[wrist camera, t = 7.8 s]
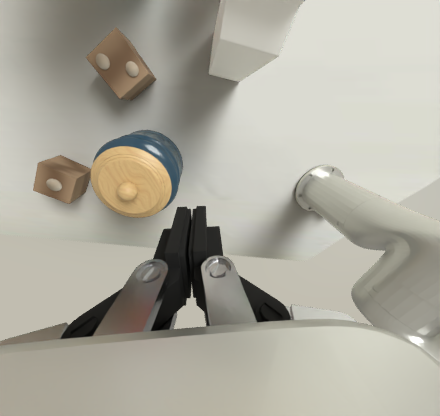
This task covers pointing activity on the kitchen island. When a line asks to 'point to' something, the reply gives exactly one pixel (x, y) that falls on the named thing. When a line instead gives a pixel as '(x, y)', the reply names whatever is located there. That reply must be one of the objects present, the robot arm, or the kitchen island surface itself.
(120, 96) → the dotted block
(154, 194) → the canister
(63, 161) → the dotted block
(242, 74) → the milk
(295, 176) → the kitchen island surface
